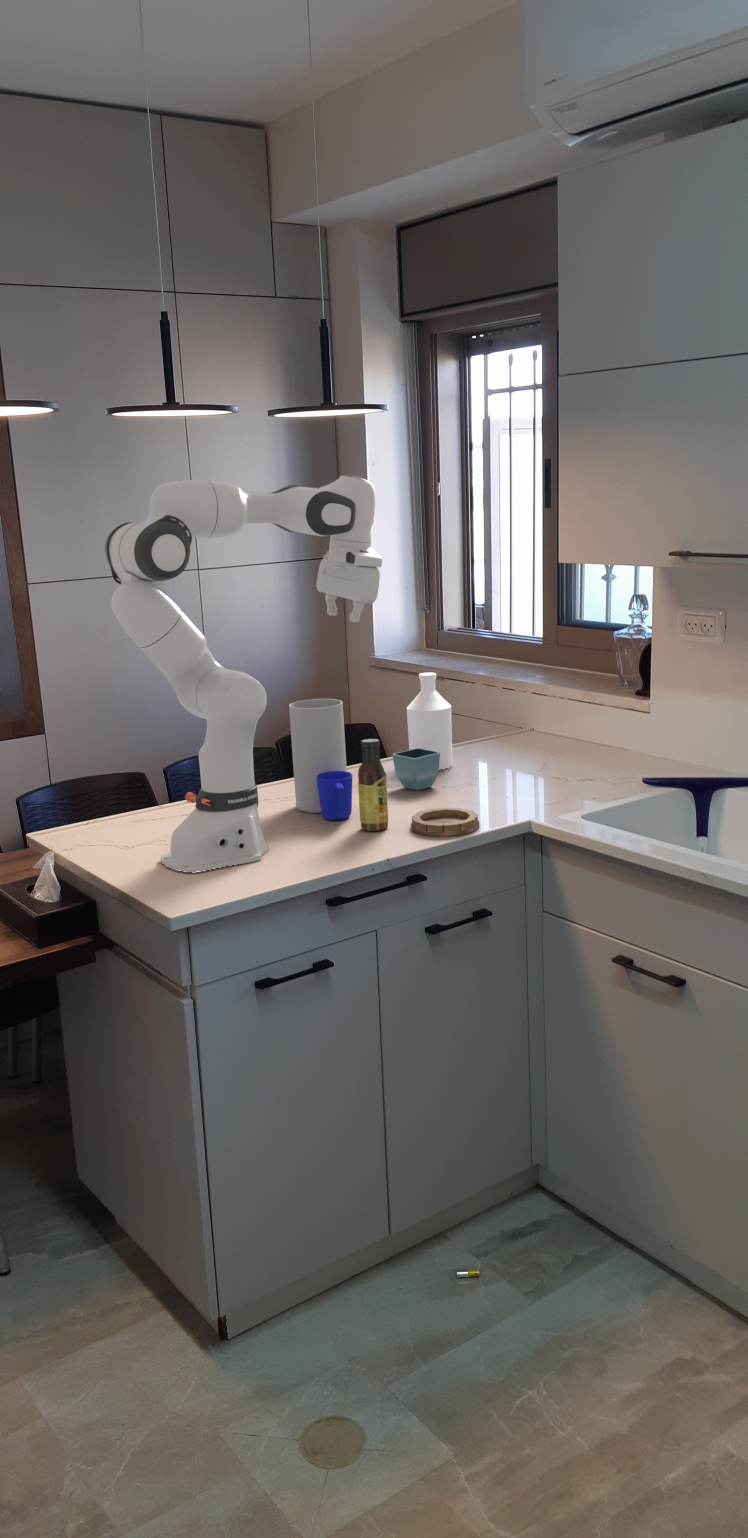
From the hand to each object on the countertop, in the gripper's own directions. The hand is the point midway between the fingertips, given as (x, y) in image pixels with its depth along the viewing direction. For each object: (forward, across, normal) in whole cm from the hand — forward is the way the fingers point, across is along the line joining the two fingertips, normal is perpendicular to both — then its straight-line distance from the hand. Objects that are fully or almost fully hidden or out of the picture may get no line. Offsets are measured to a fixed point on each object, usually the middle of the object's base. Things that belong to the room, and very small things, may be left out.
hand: (342, 618), depth 252 cm
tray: (+42, +21, +19) cm, 51 cm away
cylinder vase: (+47, -12, +7) cm, 49 cm away
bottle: (+42, -29, +50) cm, 72 cm away
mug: (+46, 0, +4) cm, 46 cm away
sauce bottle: (+45, +12, +7) cm, 47 cm away
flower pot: (+43, -12, +34) cm, 56 cm away
